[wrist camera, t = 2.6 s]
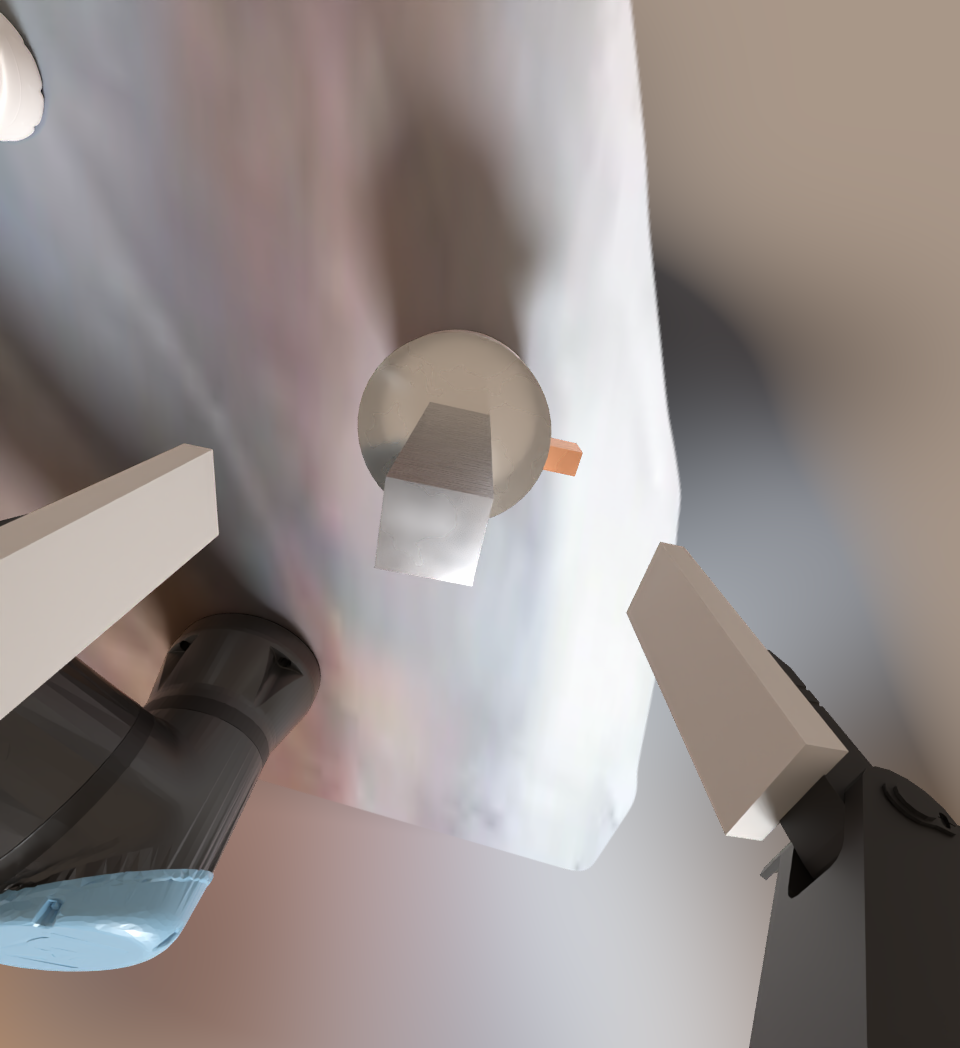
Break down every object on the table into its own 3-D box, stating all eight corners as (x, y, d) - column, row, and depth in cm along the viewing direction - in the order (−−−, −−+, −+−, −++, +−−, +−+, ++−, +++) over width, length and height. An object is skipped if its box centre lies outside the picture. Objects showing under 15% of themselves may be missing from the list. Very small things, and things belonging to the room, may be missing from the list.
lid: (363, 485, 27) (261, 633, 15) (381, 309, 23) (255, 310, 10) (545, 522, 29) (591, 688, 16) (597, 360, 24) (719, 419, 11)
